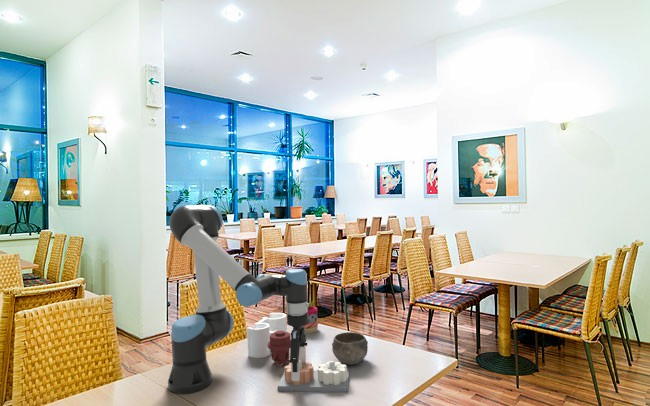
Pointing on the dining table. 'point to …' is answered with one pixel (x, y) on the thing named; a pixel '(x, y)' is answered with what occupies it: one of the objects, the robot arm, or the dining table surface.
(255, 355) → the white joined open cylinders
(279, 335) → the mechanical component
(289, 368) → the gear
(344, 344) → the bowl
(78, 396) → the dining table surface
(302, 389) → the gear board
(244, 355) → the dining table surface
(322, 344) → the dining table surface
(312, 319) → the cake
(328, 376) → the gear
